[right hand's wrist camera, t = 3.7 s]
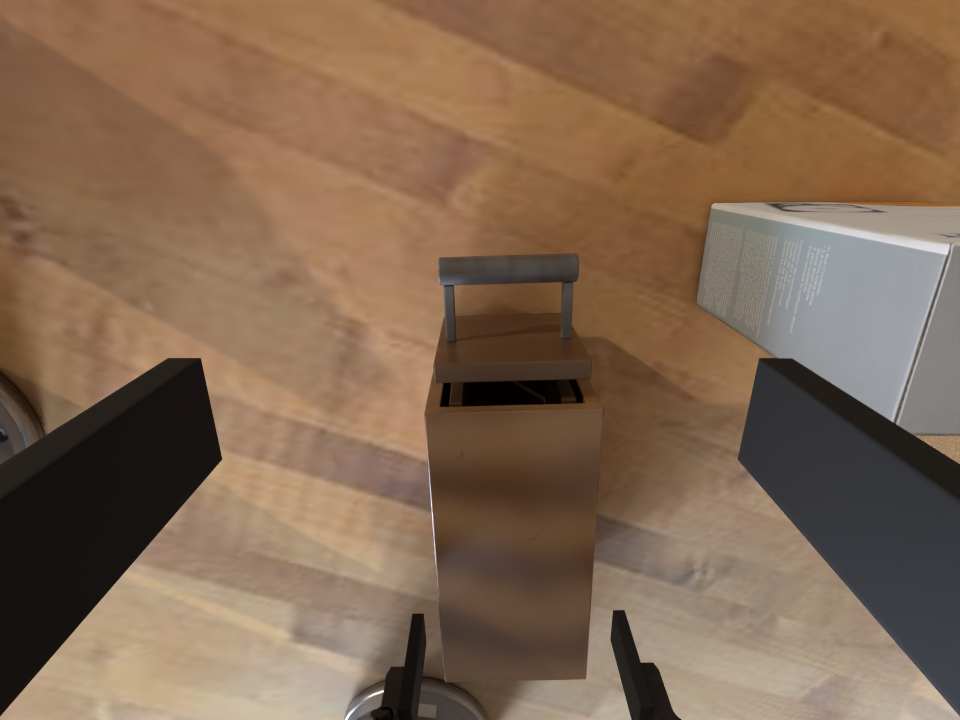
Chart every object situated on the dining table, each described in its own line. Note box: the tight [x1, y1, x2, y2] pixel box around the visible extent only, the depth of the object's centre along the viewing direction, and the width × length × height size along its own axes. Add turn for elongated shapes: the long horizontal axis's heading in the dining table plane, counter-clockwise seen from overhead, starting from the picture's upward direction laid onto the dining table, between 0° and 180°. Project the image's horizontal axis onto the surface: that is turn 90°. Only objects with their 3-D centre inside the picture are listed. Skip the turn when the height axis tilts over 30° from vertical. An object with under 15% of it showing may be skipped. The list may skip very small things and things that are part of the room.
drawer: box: [433, 253, 592, 407], centre depth 36 cm, size 26×9×10 cm, turn 2°
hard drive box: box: [696, 202, 960, 436], centre depth 27 cm, size 16×8×20 cm, turn 90°
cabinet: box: [424, 371, 603, 682], centre depth 38 cm, size 22×10×11 cm, turn 2°
